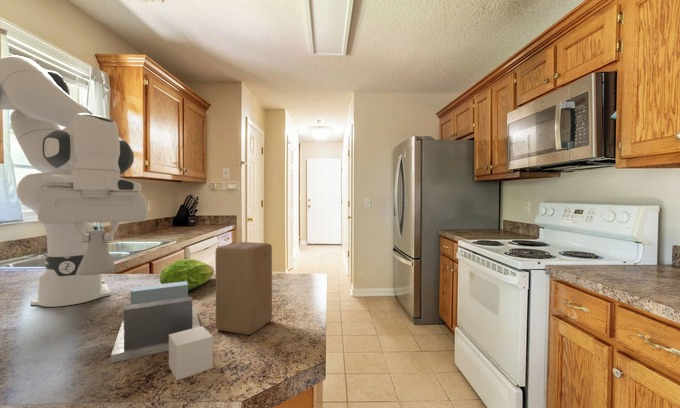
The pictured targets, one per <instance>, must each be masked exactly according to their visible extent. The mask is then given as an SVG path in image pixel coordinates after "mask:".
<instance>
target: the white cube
mask: <svg viewBox="0 0 680 408" xmlns="http://www.w3.org/2000/svg"><path fill="white" fill-rule="evenodd" d="M213 339H214V337H213V335H212V334H211V333H210V332H209V330H208V329H206V328H205V327H204V326H203V325H200V327H197V328H193V329H189V330H185V331H181V332H177V333H173V334H169V351H168V367H169V369H170V371H171V373H172V374H173V376H174V377H175V380H176V381H178V380H181V379H186V378H187V377H191V376H193V375H197V374H199V373H202V372H205V371H207V370H211V369H213V368H214V367H213V365H214V363H213V362H214V361H213V358H214V357H213V355H214V354H213V353H214V352H213V351H214V349H213V348H214V347H213V346H214V345H213V343H214V342H213V341H214V340H213Z"/></svg>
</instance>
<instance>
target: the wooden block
mask: <svg viewBox="0 0 680 408" xmlns="http://www.w3.org/2000/svg"><path fill="white" fill-rule="evenodd" d="M272 251H273V247H272V244H271V243H267V242H252V241H251V242H249V241H240V242H234V243H229V244H223V245H220V246H218V247H216V249H215V328H216V330H218V331H223V332H229V333H234V334H238V335H246V336H249V335H252V334H254V333H255V332H257V331H258V330H259V329H261V328H263V327H264V326H265V325H267V324H268V323H270V322H271V321H272V317H273V274H272V273H273V265H272V264H273V252H272Z"/></svg>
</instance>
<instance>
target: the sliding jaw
mask: <svg viewBox="0 0 680 408" xmlns="http://www.w3.org/2000/svg"><path fill="white" fill-rule="evenodd" d="M184 297H189V290H188V283H187V281H184V282H175V283H167V284H161V283H159V284H152V285H142V286H135V287H132V288H131V290H130V305H134V304H141V303H148V302H156V301H163V300H170V299H177V298H184Z"/></svg>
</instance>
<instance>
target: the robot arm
mask: <svg viewBox="0 0 680 408" xmlns="http://www.w3.org/2000/svg"><path fill="white" fill-rule="evenodd" d="M0 110H5V111H6V110H7V111H10V110H11V111H12V112H11V114H10V118H9V119H10V124H11V127H12V131H13V134H14V135H15V139H16V141H17V143H18V145H19V147H20V148H21V150H22V152H23V154H24V156H25V157H26V159H27V161H28V163H29V164H30V165H31V167H32V168H34V169H35V170H37V171H39V172H38V173H30V174H27V175H25V176H23V177H22V178H21V179H20V181H19V182H18V183H17V187H16V194H17V198H18V199H19V201H20V202H21V203H22V204H23V205H24V206H25V207H27V208H29V209H30V210H32V211H33V212H34V213H36V215H37V220H38V222H40V223H41V224H43V226H44V229H45V233H46V243H47V244H46V247H47V250H46V251H47V255H46V256H45V261H44V265H45V266H44V267H45V269H46V270H45V271H44V272H43V273H41V274H40V275H39V277H38V287H37V289H38V290H37V298H35V299H33V300H31V301H30V305H31V306H41V307H46V308H50V307H54V308H55V307H56V308H57V307H64V306H70V305H71V306H72V305H78V304H82V303H86V302H90V301H94V300H96V299H100V298H103V297H104V298H105V297H107V296H110V295H111V291H110V289H109V286H108V284H107V283H105V280H104V279H102V275H103V274H98V275H79V274H76V272H77V269H78V267H79V265H80V263H81V261H82V259H83V256H84V254H85V252H86V249H87V246H88V242H89V234H88V233H87V231H91V230H95V228H94V226H92V225H91V224H92V223H110V227H111V228H112V229H111V231H109V233H108V232H107V233H104V240H105V242H114V234H115V232H117V230H118V228H119V226H120V223H121V222H122V223H124V222H126V223H128V222H129V223H130V222H131V223H132V222H145V221H146V220H147V219H148V217H149V212H148V205H147V199H146V197H145V195H144V194H143V193H141V191H142V188H143V187H142V184H141V183H139V182H137V181H135V180H134V181H133V180H131V179H129V178H123V177H121V175H122V174H124V173H126V172H127V171H129V169H131V167H132V166H133V164H134V162H135V155H134V152H133V149H132V147H131V146H130V145H129V143H128V142H127V141H126V140H124V139H123V138H120V134H119V128H118V125H117V122H116V121H115V120H113V119H112V118H109V117H105V116H101V115H96V114H93V113H92V112H91V111H90V110H89V109H88V108H86V107H85V106H83V104H80V102H78V101H77V100H75V98H73V97H71V96H70V88H69V85H68V83H67V82H66V81H65V79H64V77H63V76H62V75H61V74H59V72H57V71H53V70H48V69H44V68H42V67H41V66H40V65H39V64H37V63H36V62H35V61H33V60H32V59H30V58H27V57H25V56H20V55H9V56H4V57H2V58H1V59H0ZM60 126H61V127H64V128H61V127H60Z"/></svg>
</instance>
